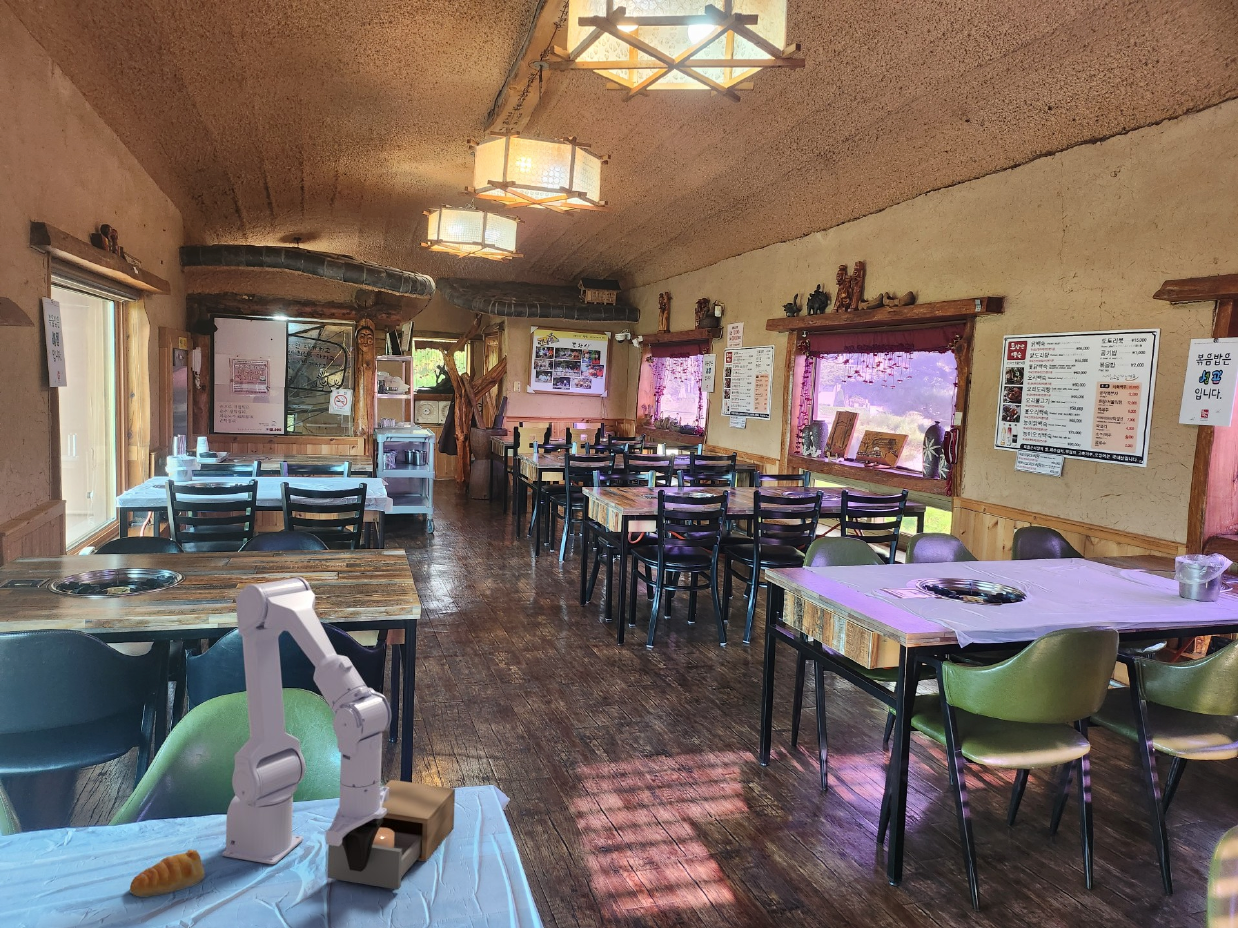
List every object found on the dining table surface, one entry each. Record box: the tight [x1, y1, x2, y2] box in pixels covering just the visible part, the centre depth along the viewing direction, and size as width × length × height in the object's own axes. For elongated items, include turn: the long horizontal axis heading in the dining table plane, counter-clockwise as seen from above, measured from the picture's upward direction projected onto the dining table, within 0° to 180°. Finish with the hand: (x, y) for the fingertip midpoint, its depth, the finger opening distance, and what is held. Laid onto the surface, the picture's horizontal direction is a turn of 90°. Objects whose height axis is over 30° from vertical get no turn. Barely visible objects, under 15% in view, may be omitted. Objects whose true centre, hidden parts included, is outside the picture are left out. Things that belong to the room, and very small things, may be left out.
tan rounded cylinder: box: [373, 828, 394, 848], centre depth 124 cm, size 5×5×4 cm
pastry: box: [129, 849, 205, 898], centre depth 118 cm, size 9×7×4 cm
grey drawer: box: [327, 832, 422, 890], centre depth 124 cm, size 11×12×6 cm
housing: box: [380, 779, 456, 863], centre depth 133 cm, size 11×12×7 cm
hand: (357, 868), depth 117 cm, fingers closed
